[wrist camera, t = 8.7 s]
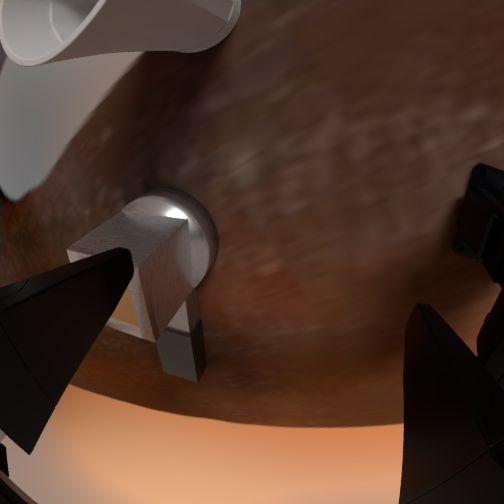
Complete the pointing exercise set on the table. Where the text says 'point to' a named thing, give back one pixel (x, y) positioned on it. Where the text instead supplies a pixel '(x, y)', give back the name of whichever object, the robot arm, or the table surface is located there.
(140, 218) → the grey brown boxy block
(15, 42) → the cup
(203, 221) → the ratchet
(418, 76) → the table surface
